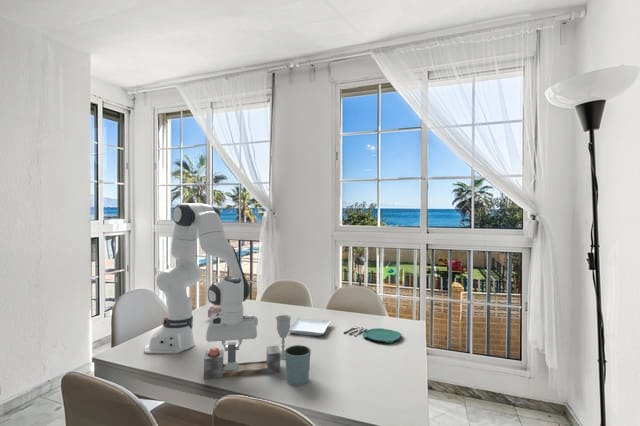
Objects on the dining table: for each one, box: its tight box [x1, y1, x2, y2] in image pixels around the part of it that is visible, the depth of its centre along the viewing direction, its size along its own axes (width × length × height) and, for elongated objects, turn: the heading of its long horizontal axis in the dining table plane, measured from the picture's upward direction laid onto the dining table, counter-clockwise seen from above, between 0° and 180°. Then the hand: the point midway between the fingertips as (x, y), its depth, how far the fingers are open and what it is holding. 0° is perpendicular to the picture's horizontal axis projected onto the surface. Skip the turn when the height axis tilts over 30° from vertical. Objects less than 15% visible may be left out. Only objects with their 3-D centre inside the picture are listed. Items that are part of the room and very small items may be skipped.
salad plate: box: [288, 317, 332, 337], centre depth 194 cm, size 21×21×3 cm
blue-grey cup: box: [284, 344, 312, 386], centre depth 136 cm, size 10×10×12 cm
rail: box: [203, 345, 281, 380], centre depth 143 cm, size 30×8×8 cm, turn 103°
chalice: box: [275, 314, 292, 360], centre depth 157 cm, size 7×7×18 cm
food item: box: [207, 305, 222, 318], centre depth 214 cm, size 14×8×10 cm, turn 151°
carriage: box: [224, 341, 239, 371], centre depth 142 cm, size 5×5×10 cm
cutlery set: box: [343, 326, 403, 344], centre depth 187 cm, size 20×30×2 cm, turn 55°
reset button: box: [208, 347, 220, 357], centre depth 140 cm, size 4×4×4 cm
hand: (231, 350), depth 142 cm, fingers closed on carriage, 3 cm apart
